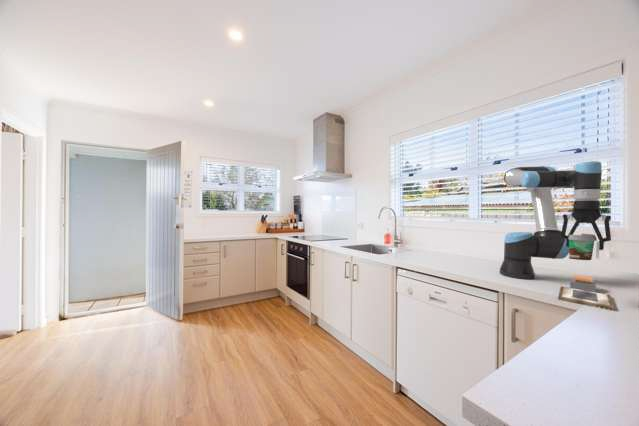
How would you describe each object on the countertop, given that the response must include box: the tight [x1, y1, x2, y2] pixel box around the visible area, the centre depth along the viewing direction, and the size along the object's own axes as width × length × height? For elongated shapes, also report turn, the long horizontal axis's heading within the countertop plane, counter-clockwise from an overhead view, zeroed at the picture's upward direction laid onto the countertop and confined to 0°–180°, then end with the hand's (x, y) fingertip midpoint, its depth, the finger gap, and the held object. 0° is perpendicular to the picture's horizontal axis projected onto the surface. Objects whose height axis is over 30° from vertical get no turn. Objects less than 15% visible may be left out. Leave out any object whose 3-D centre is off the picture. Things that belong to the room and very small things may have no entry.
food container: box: [568, 233, 598, 261], centre depth 105 cm, size 12×6×10 cm, turn 116°
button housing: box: [569, 277, 597, 292], centre depth 119 cm, size 8×8×3 cm
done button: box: [572, 274, 594, 284], centre depth 119 cm, size 6×6×4 cm
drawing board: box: [557, 285, 615, 311], centre depth 106 cm, size 15×20×1 cm
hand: (583, 256), depth 105 cm, fingers closed on food container, 7 cm apart
